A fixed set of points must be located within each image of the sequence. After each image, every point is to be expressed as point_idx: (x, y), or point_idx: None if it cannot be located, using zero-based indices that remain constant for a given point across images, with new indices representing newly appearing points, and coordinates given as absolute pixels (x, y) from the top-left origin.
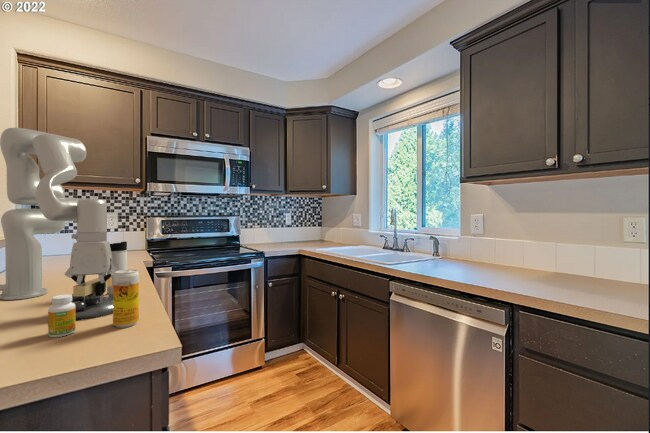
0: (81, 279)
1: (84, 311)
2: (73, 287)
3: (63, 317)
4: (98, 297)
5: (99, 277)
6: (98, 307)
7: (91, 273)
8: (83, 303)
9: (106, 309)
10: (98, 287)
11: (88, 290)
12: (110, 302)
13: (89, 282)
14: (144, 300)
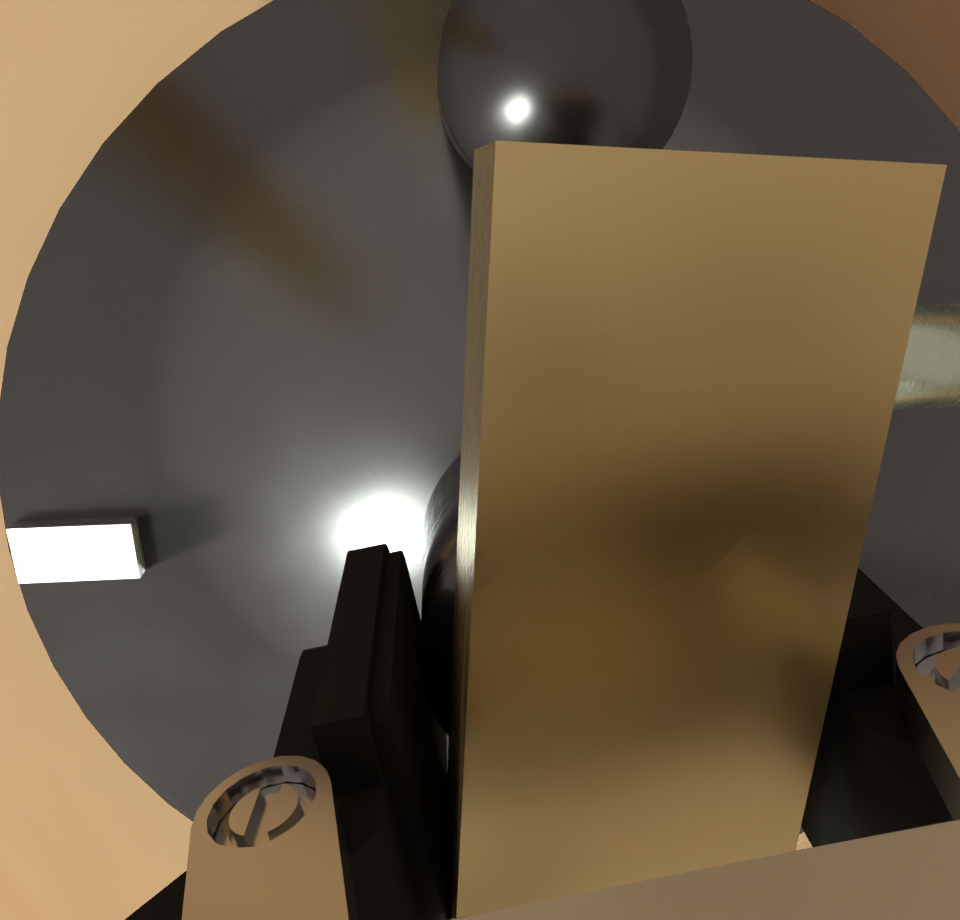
0: (956, 749)
1: (406, 46)
2: (914, 164)
3: None
4: (425, 568)
5: (327, 909)
6: (289, 293)
7: (560, 917)
8: (440, 49)
9: (77, 188)
10: (381, 648)
11: (475, 338)
12: (263, 584)
13: (657, 731)
14: (14, 884)
